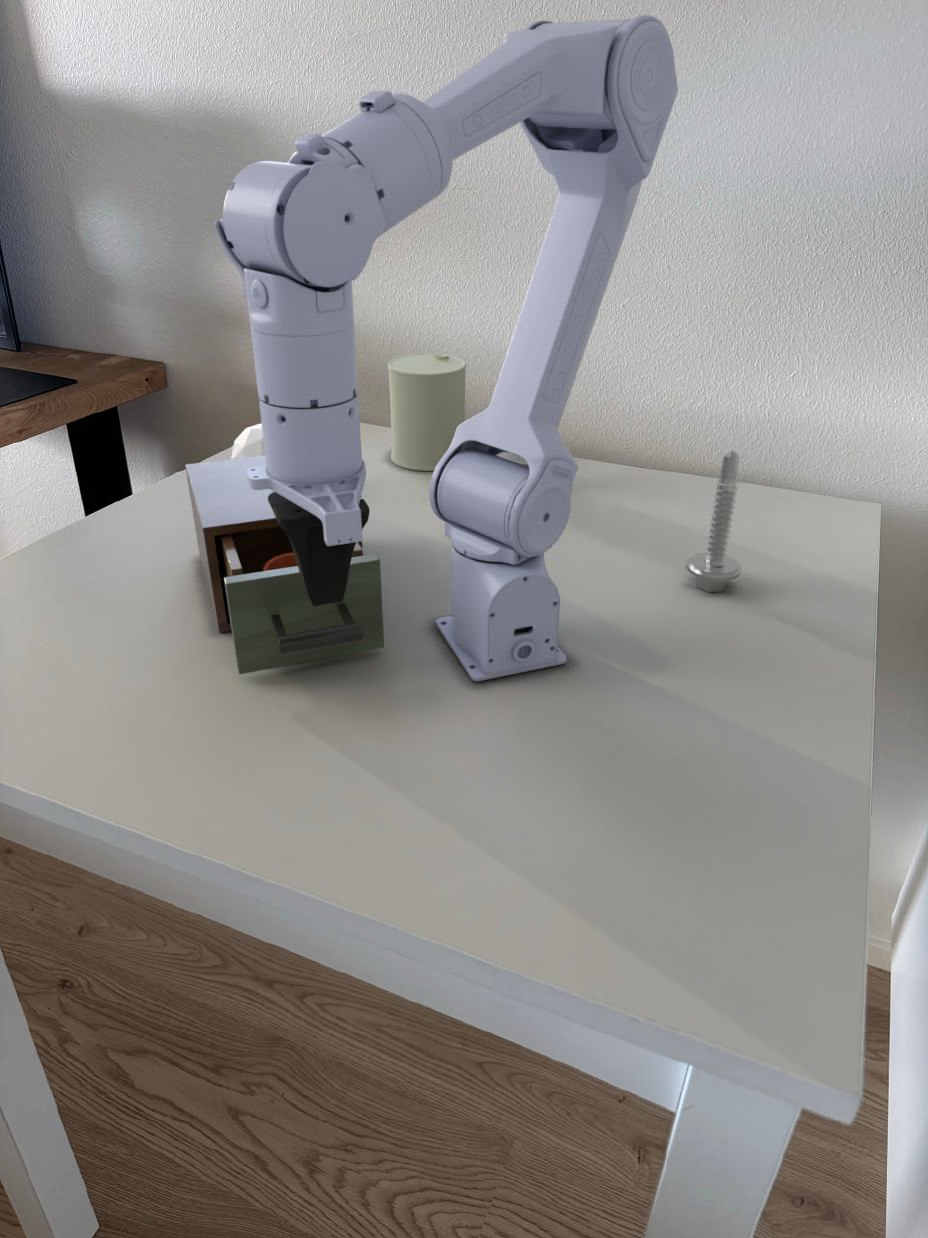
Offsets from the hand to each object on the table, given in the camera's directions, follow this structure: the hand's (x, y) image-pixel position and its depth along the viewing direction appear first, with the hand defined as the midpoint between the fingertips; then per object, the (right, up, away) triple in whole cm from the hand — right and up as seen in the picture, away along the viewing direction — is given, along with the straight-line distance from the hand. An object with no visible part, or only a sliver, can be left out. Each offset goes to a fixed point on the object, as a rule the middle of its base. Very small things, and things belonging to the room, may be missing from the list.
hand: (325, 599), depth 59 cm
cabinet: (-8, +2, +24) cm, 25 cm away
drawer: (-4, -2, +14) cm, 15 cm away
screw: (+32, +2, +24) cm, 40 cm away
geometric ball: (-13, +13, +43) cm, 46 cm away
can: (+5, +18, +52) cm, 55 cm away
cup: (-4, -1, +14) cm, 15 cm away
